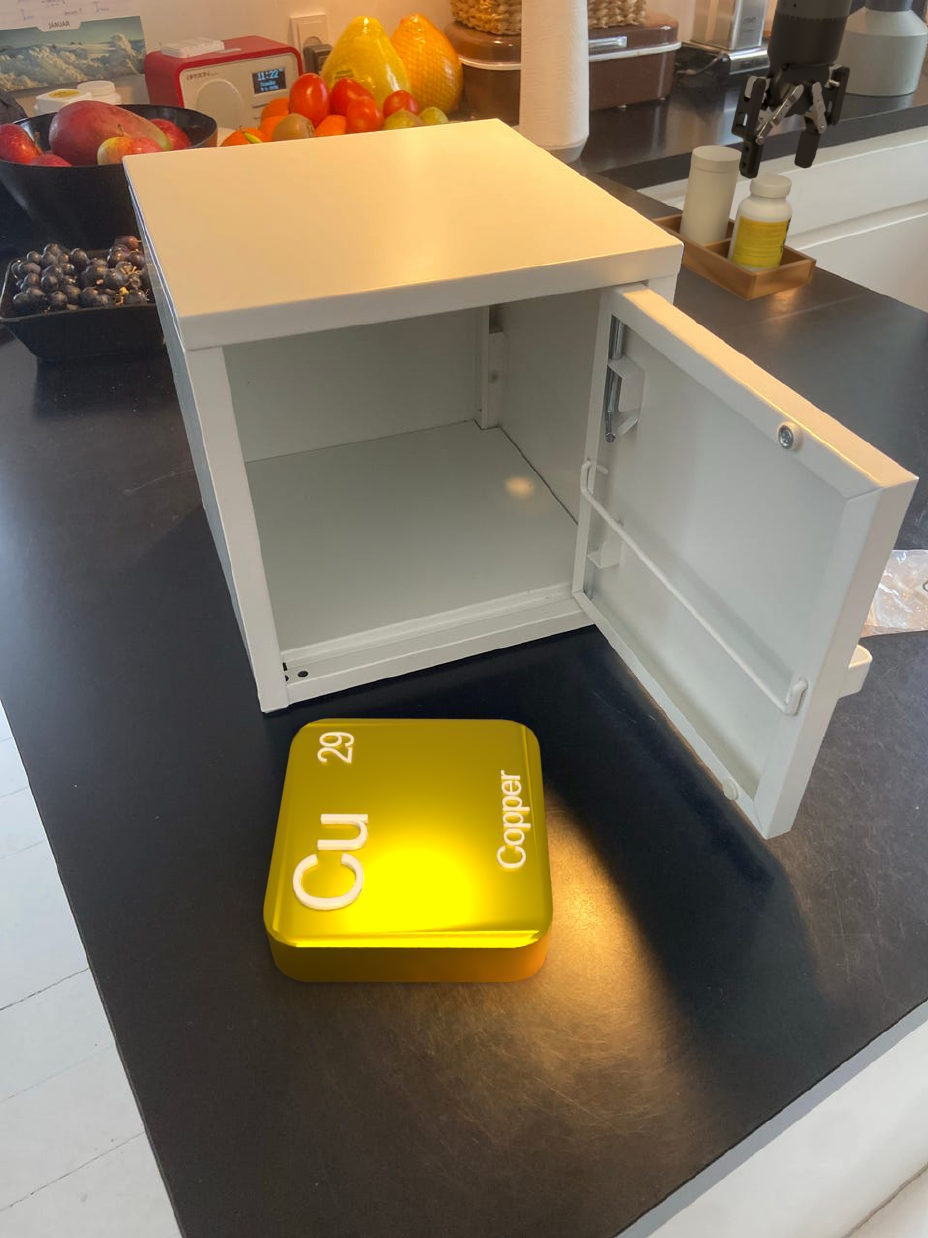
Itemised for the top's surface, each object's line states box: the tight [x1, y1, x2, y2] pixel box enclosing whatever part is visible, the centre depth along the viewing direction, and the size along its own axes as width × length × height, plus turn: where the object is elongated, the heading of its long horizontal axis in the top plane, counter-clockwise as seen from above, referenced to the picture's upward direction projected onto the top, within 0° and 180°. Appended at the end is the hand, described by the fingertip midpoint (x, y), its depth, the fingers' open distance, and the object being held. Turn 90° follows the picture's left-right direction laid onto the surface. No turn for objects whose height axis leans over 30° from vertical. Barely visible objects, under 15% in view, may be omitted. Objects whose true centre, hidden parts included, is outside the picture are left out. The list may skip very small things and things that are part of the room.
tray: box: [650, 212, 818, 301], centre depth 118 cm, size 11×20×4 cm, turn 29°
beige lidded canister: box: [679, 145, 742, 245], centre depth 118 cm, size 6×6×12 cm
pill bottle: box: [727, 172, 793, 272], centre depth 112 cm, size 6×6×12 cm
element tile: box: [262, 718, 554, 983], centre depth 52 cm, size 15×15×5 cm
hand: (775, 171), depth 107 cm, fingers open, 8 cm apart
